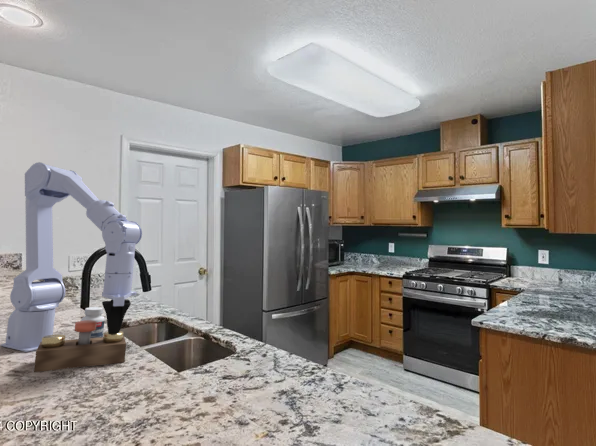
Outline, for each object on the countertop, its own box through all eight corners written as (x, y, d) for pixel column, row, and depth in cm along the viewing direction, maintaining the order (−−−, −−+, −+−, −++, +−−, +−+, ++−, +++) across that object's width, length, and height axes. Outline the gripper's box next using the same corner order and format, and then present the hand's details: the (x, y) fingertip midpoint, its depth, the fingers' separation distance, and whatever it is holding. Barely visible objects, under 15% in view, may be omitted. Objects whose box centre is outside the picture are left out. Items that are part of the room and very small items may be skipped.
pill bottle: (91, 347, 84) (94, 311, 85) (73, 345, 85) (76, 309, 86) (107, 342, 89) (110, 307, 90) (90, 339, 90) (93, 305, 91)
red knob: (72, 351, 72) (74, 325, 72) (73, 345, 75) (75, 321, 75) (94, 349, 74) (96, 323, 74) (94, 344, 77) (96, 319, 78)
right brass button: (101, 361, 74) (103, 335, 75) (100, 355, 78) (103, 331, 78) (121, 358, 76) (124, 334, 77) (120, 353, 80) (122, 330, 80)
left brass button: (37, 367, 69) (40, 340, 69) (40, 361, 72) (43, 335, 72) (61, 365, 71) (64, 338, 71) (63, 359, 74) (66, 333, 75)
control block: (33, 372, 67) (36, 351, 67) (38, 361, 73) (40, 342, 73) (124, 362, 75) (126, 343, 76) (122, 352, 81) (123, 335, 82)
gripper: (142, 276, 74) (136, 339, 73) (135, 270, 87) (130, 324, 86) (104, 275, 71) (98, 342, 70) (103, 270, 83) (97, 326, 82)
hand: (113, 333), depth 77 cm, fingers closed, pressing on right brass button
